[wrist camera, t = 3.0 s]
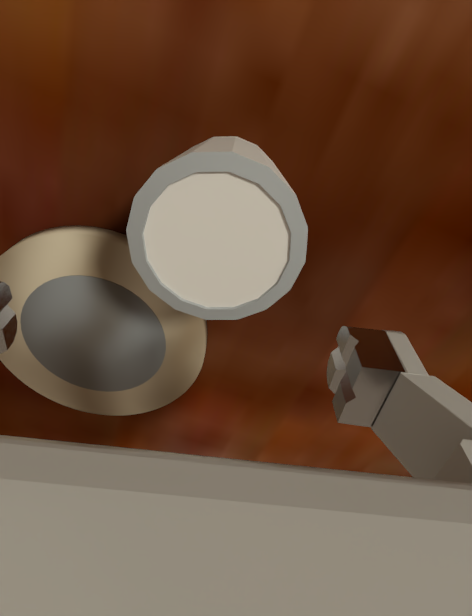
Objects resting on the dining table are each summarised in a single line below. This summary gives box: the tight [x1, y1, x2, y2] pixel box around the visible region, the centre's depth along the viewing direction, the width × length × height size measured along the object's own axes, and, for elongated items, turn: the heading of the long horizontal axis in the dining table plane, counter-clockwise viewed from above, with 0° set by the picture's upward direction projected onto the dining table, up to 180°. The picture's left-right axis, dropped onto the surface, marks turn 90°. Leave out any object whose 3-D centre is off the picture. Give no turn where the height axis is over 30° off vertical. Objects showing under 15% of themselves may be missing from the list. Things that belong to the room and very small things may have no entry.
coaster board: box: [0, 225, 207, 416], centre depth 25 cm, size 14×14×1 cm
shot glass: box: [126, 136, 308, 320], centre depth 18 cm, size 7×7×7 cm
